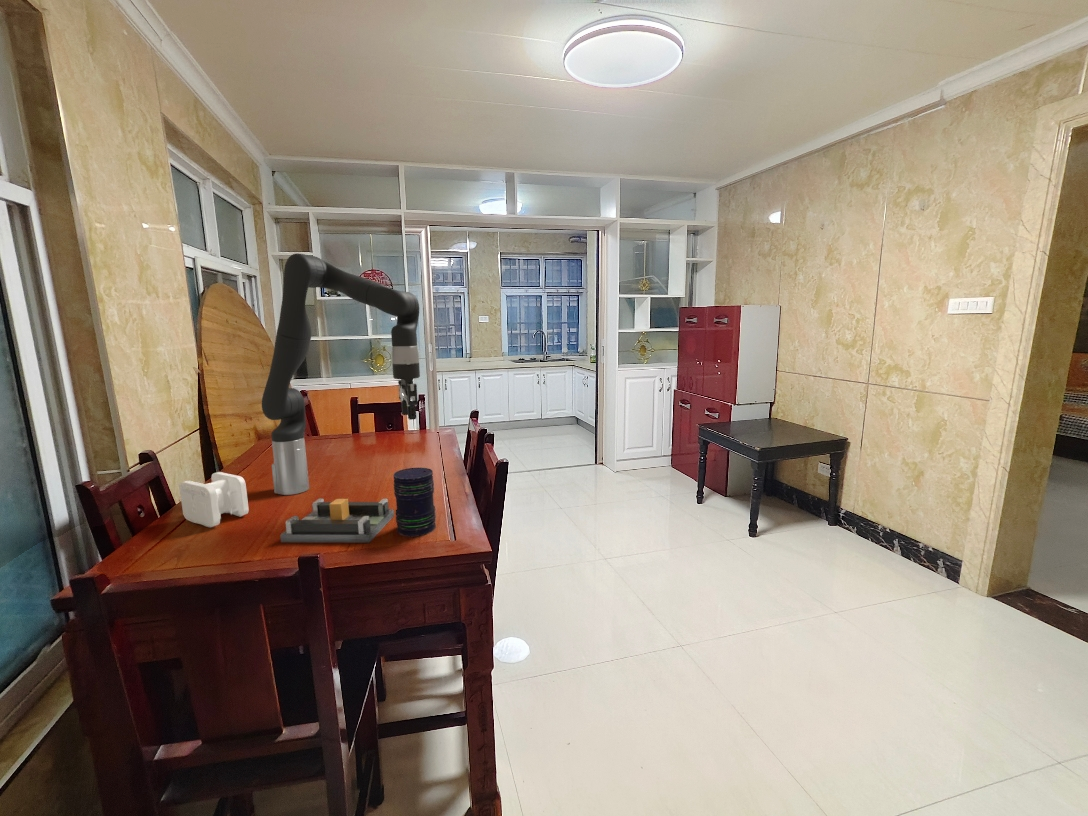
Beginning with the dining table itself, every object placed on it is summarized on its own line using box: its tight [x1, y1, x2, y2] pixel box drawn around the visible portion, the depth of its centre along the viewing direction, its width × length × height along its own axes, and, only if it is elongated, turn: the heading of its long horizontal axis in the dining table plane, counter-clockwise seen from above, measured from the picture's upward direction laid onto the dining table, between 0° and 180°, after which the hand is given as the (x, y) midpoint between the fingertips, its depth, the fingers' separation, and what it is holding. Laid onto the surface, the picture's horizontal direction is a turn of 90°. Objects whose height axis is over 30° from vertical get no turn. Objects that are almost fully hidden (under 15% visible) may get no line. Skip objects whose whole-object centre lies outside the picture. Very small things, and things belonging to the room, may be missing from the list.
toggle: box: [329, 498, 352, 520], centre depth 125 cm, size 4×4×5 cm
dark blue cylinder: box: [393, 467, 437, 537], centre depth 124 cm, size 10×10×15 cm
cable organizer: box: [178, 471, 249, 528], centre depth 133 cm, size 15×11×12 cm
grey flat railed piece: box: [280, 498, 395, 544], centre depth 125 cm, size 22×17×5 cm
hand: (409, 416), depth 142 cm, fingers open, 8 cm apart
